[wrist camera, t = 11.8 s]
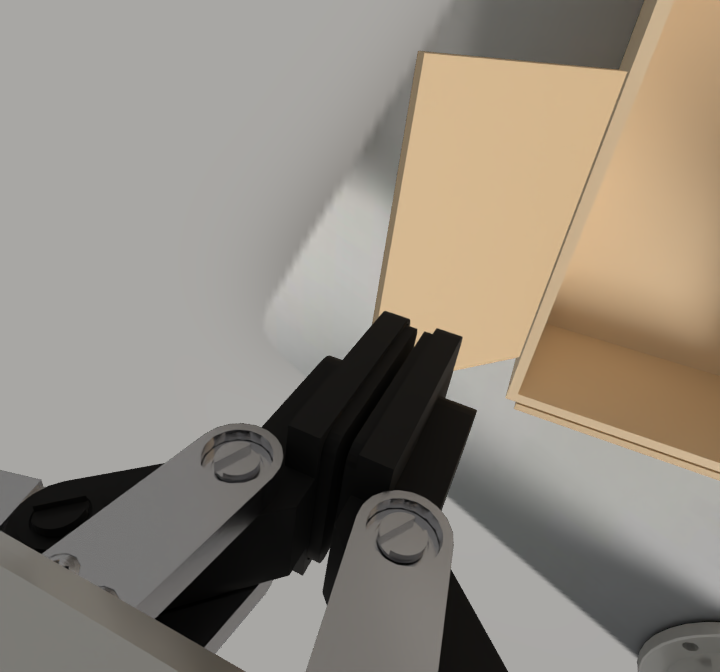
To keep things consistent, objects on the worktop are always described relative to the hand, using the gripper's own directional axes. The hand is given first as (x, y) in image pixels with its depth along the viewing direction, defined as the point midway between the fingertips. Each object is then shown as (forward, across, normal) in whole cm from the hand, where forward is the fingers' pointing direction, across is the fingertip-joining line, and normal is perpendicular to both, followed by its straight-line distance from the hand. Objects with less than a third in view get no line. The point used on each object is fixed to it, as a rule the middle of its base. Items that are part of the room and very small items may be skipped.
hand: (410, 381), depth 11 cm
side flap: (+10, -2, -1) cm, 10 cm away
